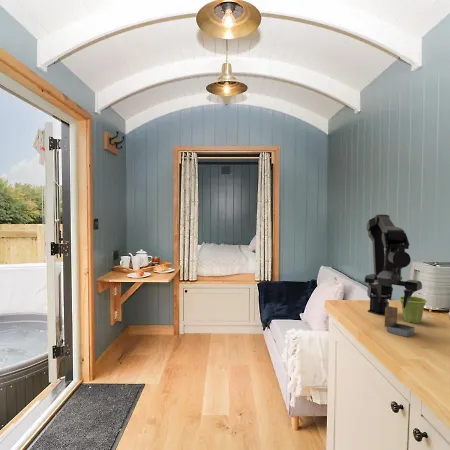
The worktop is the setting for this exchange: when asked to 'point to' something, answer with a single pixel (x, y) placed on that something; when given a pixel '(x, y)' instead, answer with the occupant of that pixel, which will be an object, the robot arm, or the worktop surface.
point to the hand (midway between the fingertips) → (391, 304)
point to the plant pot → (413, 309)
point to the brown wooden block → (390, 315)
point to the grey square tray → (400, 329)
